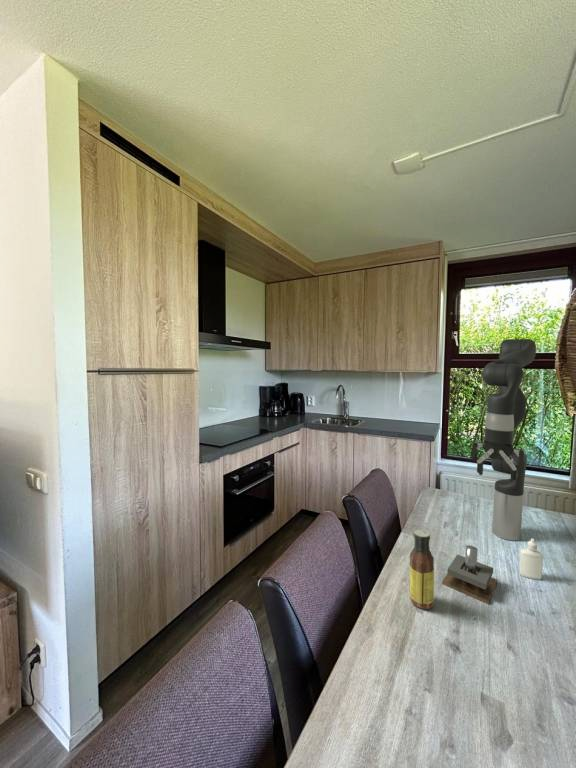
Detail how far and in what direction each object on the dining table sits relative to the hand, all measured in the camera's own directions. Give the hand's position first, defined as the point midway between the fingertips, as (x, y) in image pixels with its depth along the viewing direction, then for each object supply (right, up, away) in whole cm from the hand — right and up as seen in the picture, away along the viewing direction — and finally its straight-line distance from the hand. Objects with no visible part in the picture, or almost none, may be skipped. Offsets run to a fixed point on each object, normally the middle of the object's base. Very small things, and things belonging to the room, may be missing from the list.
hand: (496, 477), depth 104 cm
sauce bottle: (-29, -31, -13) cm, 45 cm away
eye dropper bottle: (+10, -31, -1) cm, 32 cm away
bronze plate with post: (-11, -30, -5) cm, 33 cm away
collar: (-11, -27, -6) cm, 30 cm away
